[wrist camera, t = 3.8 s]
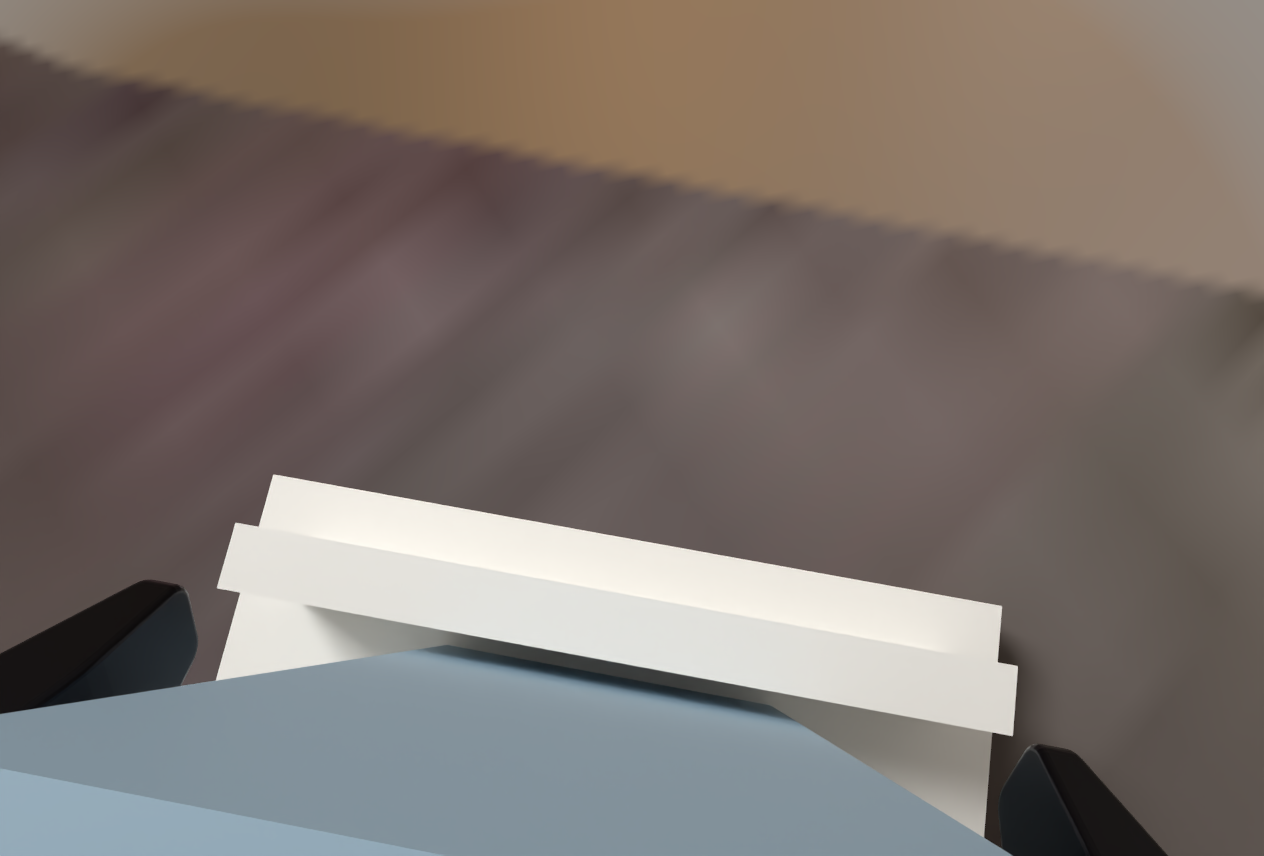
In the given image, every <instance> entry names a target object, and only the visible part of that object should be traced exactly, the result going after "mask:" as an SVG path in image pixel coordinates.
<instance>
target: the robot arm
mask: <svg viewBox="0 0 1264 856" xmlns="http://www.w3.org/2000/svg"><path fill="white" fill-rule="evenodd" d="M197 647H198V635H197V631H196V626H195V622H194V617H193V613H192V608H191V603H190V599H189V595H188V592H187V591H186V590H185V588H184V587H183V586H180V585H178V584H172V583H167V582H162V581H156V580H143V581H140V582H138V583H135V584H133V585H131V586H129V587H128V588H126V589H124V590H122V591H120V592H118V593H116V594H114V595H112V596H110V597H108V598H106V599H104V600H103V601H101V602H99V603H97V604H95V605H93V606H91V607H89V608H87V609H85V610H83V611H81V612H79V613H78V614H76V615H74V616H72V617H70V618H68V619H66V620H64V621H62V622H60V623H58V624H56V625H54V626H53V627H51V628H49V629H47V630H45V631H43V632H41V633H39V634H37V635H35V636H33V637H31V638H29V639H28V640H26V641H24V642H22V643H20V644H18V645H16V646H14V647H12V648H10V649H8V650H6V651H4V652H3V653H1V654H0V714H4V713H11V712H17V711H24V710H30V709H36V708H43V707H49V706H56V705H62V704H69V703H75V702H82V701H88V700H94V699H101V698H107V697H114V696H120V695H127V694H133V693H140V692H146V691H153V690H159V689H165V688H172V687H178V686H181V685H182V683H183V681H184V679H185V677H186V675H187V673H188V671H189V669H190V667H191V665H192V663H193V660H194V658H195V655H196V652H197ZM998 815H999V824H1000V834H1001V843H1002V849H1003V850H1004V851H1006V852H1008V853H1009V854H1011V855H1013V856H1168V855H1167V854H1166V853H1165V852H1164V851H1163V850H1162V848H1161V847H1160V846H1159V845H1158V844H1157V843H1156V842H1155V841H1154V839H1153V838H1152V837H1151V836H1150V835H1149V834H1148V833H1147V832H1146V830H1145V829H1144V828H1143V827H1142V826H1141V825H1140V824H1139V823H1138V821H1137V820H1136V819H1135V818H1134V817H1133V816H1132V815H1131V814H1130V812H1129V811H1128V810H1127V809H1126V808H1125V807H1124V806H1123V805H1122V803H1121V802H1120V801H1119V800H1118V799H1117V798H1116V797H1115V796H1114V794H1113V793H1112V792H1111V791H1110V790H1109V789H1108V788H1107V787H1106V785H1105V784H1104V783H1103V782H1102V781H1101V780H1100V779H1099V778H1098V776H1097V775H1096V774H1095V773H1094V772H1093V771H1092V770H1091V769H1090V767H1089V766H1088V765H1087V764H1086V763H1085V762H1084V761H1083V760H1082V759H1081V758H1080V757H1079V756H1078V755H1077V754H1076V753H1074V752H1073V751H1071V750H1068V749H1064V748H1059V747H1053V746H1048V745H1042V744H1033V745H1031V746H1029V747H1028V748H1027V749H1026V750H1025V751H1024V753H1023V755H1022V756H1021V758H1020V760H1019V761H1018V763H1017V764H1016V766H1015V768H1014V769H1013V771H1012V773H1011V774H1010V776H1009V778H1008V779H1007V781H1006V782H1005V784H1004V786H1003V788H1002V790H1001V793H1000V796H999V802H998Z"/></svg>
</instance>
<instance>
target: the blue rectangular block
mask: <svg viewBox="0 0 1264 856" xmlns="http://www.w3.org/2000/svg"><path fill="white" fill-rule="evenodd" d="M0 856H1013V855H1011V854H1009V853H1008V852H1006V851H1004V850H1003V849H1001V848H1000V847H998V846H996V845H995V844H993V843H992V842H990V841H988V840H987V839H985V838H984V837H982V836H980V835H979V834H977V833H975V832H974V831H972V830H971V829H969V828H967V827H966V826H964V825H963V824H961V823H959V822H958V821H956V820H955V819H953V818H951V817H950V816H948V815H946V814H945V813H943V812H942V811H940V810H938V809H937V808H935V807H934V806H932V805H930V804H929V803H927V802H925V801H924V800H922V799H921V798H919V797H917V796H916V795H914V794H913V793H911V792H909V791H908V790H906V789H905V788H903V787H901V786H900V785H898V784H896V783H895V782H893V781H892V780H890V779H888V778H887V777H885V776H884V775H882V774H880V773H879V772H877V771H875V770H874V769H872V768H871V767H869V766H867V765H866V764H864V763H863V762H861V761H859V760H858V759H856V758H855V757H853V756H851V755H850V754H848V753H846V752H845V751H843V750H842V749H840V748H838V747H837V746H835V745H834V744H832V743H830V742H829V741H827V740H825V739H824V738H822V737H821V736H819V735H817V734H816V733H814V732H813V731H811V730H809V729H808V728H806V727H805V726H803V725H801V724H800V723H798V722H796V721H795V720H793V719H792V718H790V717H788V716H787V715H785V714H784V713H782V712H780V711H779V710H777V709H776V708H774V707H772V706H771V705H766V704H761V703H756V702H750V701H745V700H740V699H734V698H729V697H724V696H718V695H713V694H708V693H702V692H697V691H691V690H686V689H681V688H675V687H670V686H665V685H659V684H654V683H649V682H643V681H638V680H633V679H627V678H622V677H616V676H611V675H606V674H600V673H595V672H590V671H584V670H579V669H574V668H568V667H563V666H558V665H552V664H547V663H542V662H536V661H531V660H525V659H520V658H515V657H509V656H504V655H499V654H493V653H488V652H483V651H477V650H472V649H467V648H461V647H456V646H451V645H443V646H436V647H430V648H423V649H417V650H411V651H404V652H398V653H391V654H385V655H378V656H372V657H365V658H359V659H353V660H346V661H340V662H333V663H327V664H320V665H314V666H307V667H301V668H294V669H288V670H282V671H275V672H269V673H262V674H256V675H249V676H243V677H236V678H230V679H223V680H217V681H211V682H204V683H198V684H191V685H185V686H178V687H172V688H165V689H159V690H153V691H146V692H140V693H133V694H127V695H120V696H114V697H107V698H101V699H94V700H88V701H82V702H75V703H69V704H62V705H56V706H49V707H43V708H36V709H30V710H24V711H17V712H11V713H4V714H0Z"/></svg>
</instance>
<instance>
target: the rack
mask: <svg viewBox="0 0 1264 856" xmlns="http://www.w3.org/2000/svg"><path fill="white" fill-rule="evenodd" d="M217 588H219V589H225V590H230V591H235V592H240V596H239V600H238V603H237V607H236V610H235V614H234V617H233V621H232V625H231V628H230V632H229V635H228V639H227V642H226V646H225V650H224V653H223V657H222V660H221V664H220V667H219V671H218V675H217V678H216V681H217V680H223V679H230V678H236V677H243V676H249V675H256V674H262V673H269V672H275V671H282V670H288V669H294V668H301V667H307V666H314V665H320V664H327V663H333V662H340V661H346V660H353V659H359V658H365V657H372V656H378V655H385V654H391V653H398V652H404V651H411V650H417V649H423V648H430V647H436V646H443V645H451V646H456V647H461V648H467V649H472V650H477V651H483V652H488V653H493V654H499V655H504V656H509V657H515V658H520V659H525V660H531V661H536V662H542V663H547V664H552V665H558V666H563V667H568V668H574V669H579V670H584V671H590V672H595V673H600V674H606V675H611V676H616V677H622V678H627V679H633V680H638V681H643V682H649V683H654V684H659V685H665V686H670V687H675V688H681V689H686V690H691V691H697V692H702V693H708V694H713V695H718V696H724V697H729V698H734V699H740V700H745V701H750V702H756V703H761V704H766V705H771V706H772V707H774V708H776V709H777V710H779V711H780V712H782V713H784V714H785V715H787V716H788V717H790V718H792V719H793V720H795V721H796V722H798V723H800V724H801V725H803V726H805V727H806V728H808V729H809V730H811V731H813V732H814V733H816V734H817V735H819V736H821V737H822V738H824V739H825V740H827V741H829V742H830V743H832V744H834V745H835V746H837V747H838V748H840V749H842V750H843V751H845V752H846V753H848V754H850V755H851V756H853V757H855V758H856V759H858V760H859V761H861V762H863V763H864V764H866V765H867V766H869V767H871V768H872V769H874V770H875V771H877V772H879V773H880V774H882V775H884V776H885V777H887V778H888V779H890V780H892V781H893V782H895V783H896V784H898V785H900V786H901V787H903V788H905V789H906V790H908V791H909V792H911V793H913V794H914V795H916V796H917V797H919V798H921V799H922V800H924V801H925V802H927V803H929V804H930V805H932V806H934V807H935V808H937V809H938V810H940V811H942V812H943V813H945V814H946V815H948V816H950V817H951V818H953V819H955V820H956V821H958V822H959V823H961V824H963V825H964V826H966V827H967V828H969V829H971V830H972V831H974V832H975V833H977V834H979V835H980V836H982V837H984V831H985V818H986V805H987V792H988V779H989V767H990V754H991V741H992V732H993V733H998V734H1003V735H1009V736H1013V727H1014V714H1015V700H1016V686H1017V672H1018V666H1015V665H1009V664H1004V663H998V651H999V638H1000V625H1001V613H1002V606H998V605H992V604H987V603H981V602H976V601H970V600H965V599H959V598H954V597H948V596H943V595H937V594H932V593H926V592H921V591H915V590H910V589H904V588H898V587H893V586H887V585H882V584H876V583H871V582H865V581H860V580H854V579H849V578H843V577H838V576H832V575H827V574H821V573H816V572H810V571H804V570H799V569H793V568H788V567H782V566H777V565H771V564H766V563H760V562H755V561H749V560H744V559H738V558H733V557H727V556H722V555H716V554H710V553H705V552H699V551H694V550H688V549H683V548H677V547H672V546H666V545H661V544H655V543H650V542H644V541H639V540H633V539H628V538H622V537H616V536H611V535H605V534H600V533H594V532H589V531H583V530H578V529H572V528H567V527H561V526H556V525H550V524H545V523H539V522H534V521H528V520H522V519H517V518H511V517H506V516H500V515H495V514H489V513H484V512H478V511H473V510H467V509H462V508H456V507H451V506H445V505H440V504H434V503H428V502H423V501H417V500H412V499H406V498H401V497H395V496H390V495H384V494H379V493H373V492H368V491H362V490H357V489H351V488H346V487H340V486H334V485H329V484H323V483H318V482H312V481H307V480H301V479H296V478H290V477H285V476H279V475H274V474H273V478H272V482H271V485H270V489H269V492H268V496H267V499H266V503H265V507H264V510H263V514H262V517H261V521H260V525H259V527H256V526H250V525H245V524H240V523H235V527H234V530H233V534H232V537H231V541H230V544H229V548H228V551H227V555H226V558H225V562H224V565H223V569H222V572H221V576H220V579H219V583H218V586H217Z"/></svg>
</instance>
